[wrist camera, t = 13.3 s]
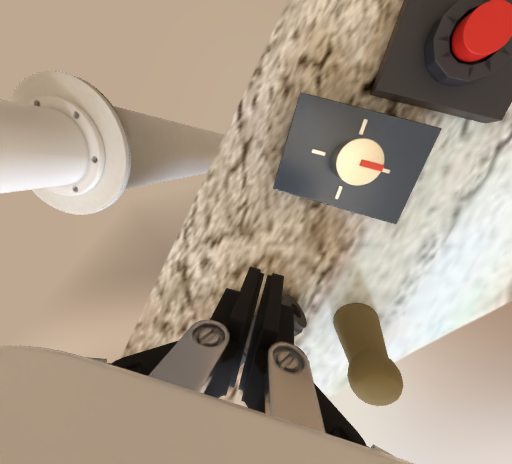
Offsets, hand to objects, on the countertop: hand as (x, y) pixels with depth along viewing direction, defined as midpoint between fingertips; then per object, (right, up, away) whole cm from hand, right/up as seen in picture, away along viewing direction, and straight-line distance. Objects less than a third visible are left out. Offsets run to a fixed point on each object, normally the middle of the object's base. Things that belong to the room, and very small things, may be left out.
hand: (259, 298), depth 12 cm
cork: (+14, -9, +23) cm, 28 cm away
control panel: (+10, +11, +17) cm, 23 cm away
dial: (+10, +11, +14) cm, 20 cm away
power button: (+18, +20, +9) cm, 28 cm away
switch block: (+19, +21, +12) cm, 31 cm away
